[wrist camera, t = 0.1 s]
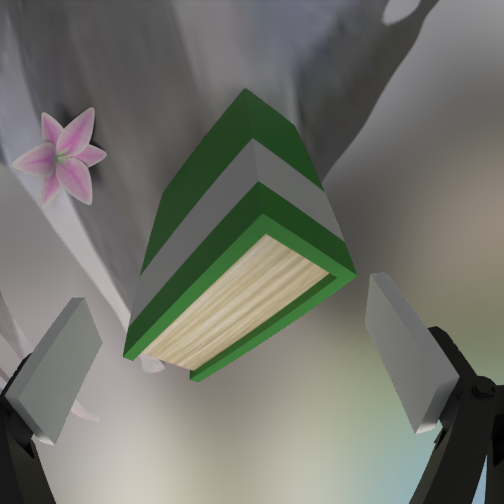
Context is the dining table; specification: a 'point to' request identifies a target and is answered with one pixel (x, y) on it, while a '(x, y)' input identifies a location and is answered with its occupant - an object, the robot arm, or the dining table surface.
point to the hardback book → (236, 245)
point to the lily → (63, 158)
